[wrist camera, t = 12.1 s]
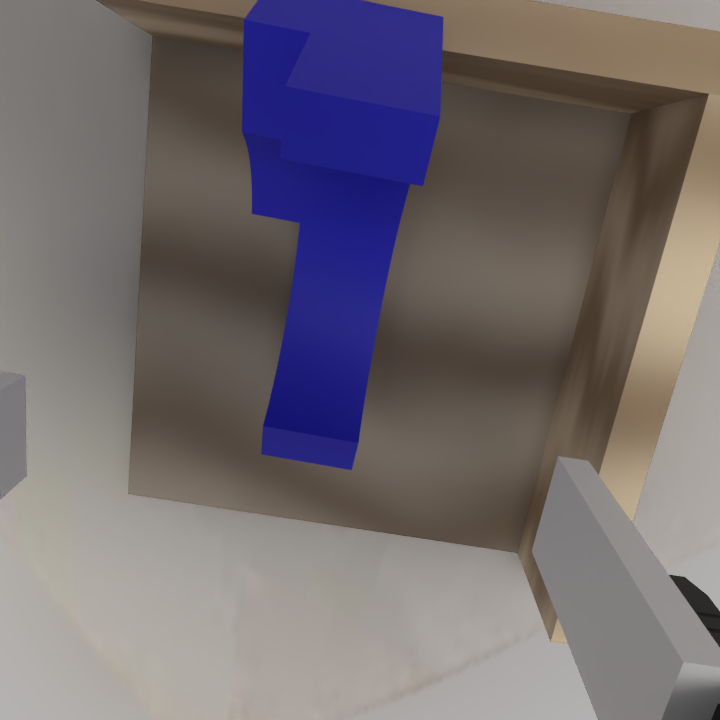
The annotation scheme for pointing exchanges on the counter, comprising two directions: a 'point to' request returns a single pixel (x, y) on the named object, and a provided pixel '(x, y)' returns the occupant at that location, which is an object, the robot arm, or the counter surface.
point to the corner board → (439, 275)
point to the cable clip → (335, 192)
